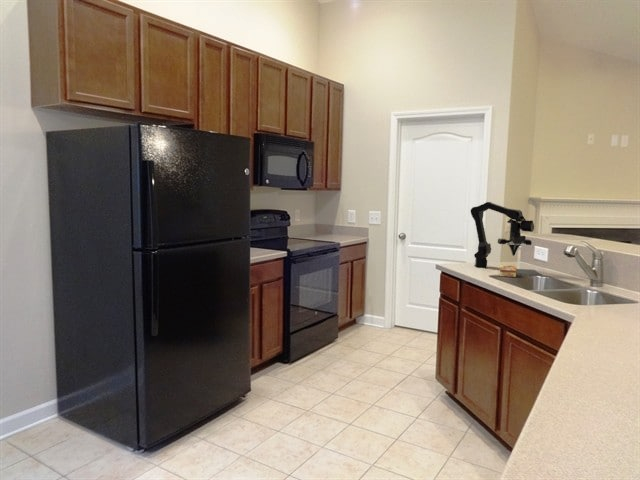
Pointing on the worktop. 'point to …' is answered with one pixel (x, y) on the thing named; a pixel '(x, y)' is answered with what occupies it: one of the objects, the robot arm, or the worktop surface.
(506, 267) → the candy box
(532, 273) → the mat
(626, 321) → the worktop surface
